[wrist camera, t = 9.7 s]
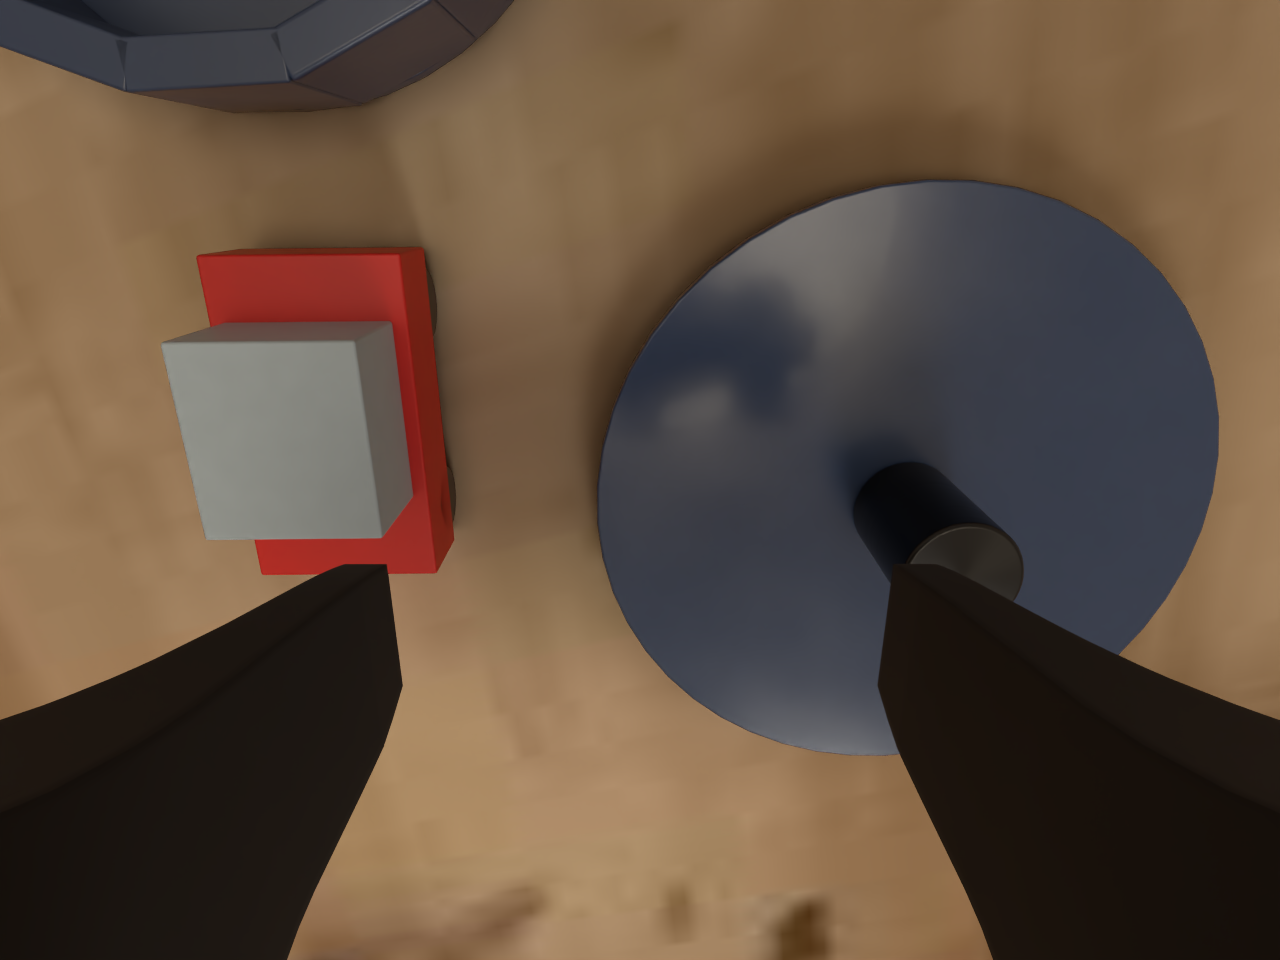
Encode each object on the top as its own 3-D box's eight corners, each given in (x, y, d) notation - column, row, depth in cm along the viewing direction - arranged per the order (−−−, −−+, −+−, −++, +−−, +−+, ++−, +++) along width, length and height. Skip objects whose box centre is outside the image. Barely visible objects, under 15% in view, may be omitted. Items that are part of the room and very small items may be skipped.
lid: (726, 76, 16) (760, 31, 12) (1314, 312, 18) (1538, 351, 13) (527, 644, 21) (497, 765, 16) (1003, 786, 22) (1092, 930, 18)
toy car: (253, 247, 17) (122, 264, 13) (430, 244, 17) (361, 262, 13) (304, 531, 20) (209, 627, 15) (460, 530, 20) (409, 625, 15)
